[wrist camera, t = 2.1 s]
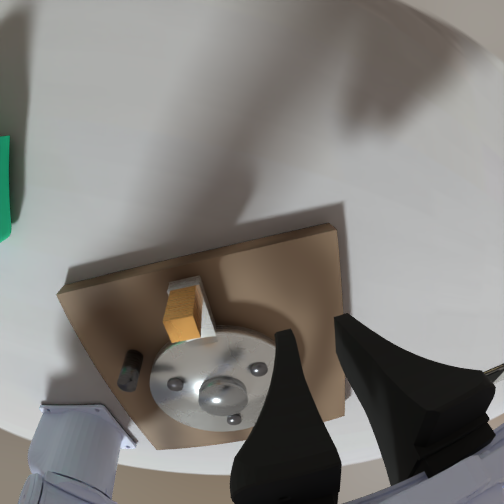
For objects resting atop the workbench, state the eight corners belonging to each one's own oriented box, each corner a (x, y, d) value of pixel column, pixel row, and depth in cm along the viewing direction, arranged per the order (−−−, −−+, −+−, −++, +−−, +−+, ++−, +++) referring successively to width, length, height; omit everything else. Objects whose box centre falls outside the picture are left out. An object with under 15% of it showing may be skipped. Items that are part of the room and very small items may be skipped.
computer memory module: (525, 356, 32) (515, 374, 34) (522, 353, 33) (512, 371, 35) (473, 379, 31) (462, 399, 32) (470, 375, 32) (459, 394, 33)
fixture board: (157, 439, 28) (156, 449, 27) (64, 285, 20) (56, 294, 19) (340, 405, 28) (344, 415, 27) (328, 223, 21) (336, 229, 19)
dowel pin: (130, 363, 22) (122, 392, 19) (123, 350, 21) (113, 379, 18) (146, 361, 22) (139, 391, 19) (139, 348, 21) (131, 377, 18)
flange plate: (297, 403, 25) (309, 445, 21) (180, 424, 25) (178, 466, 20) (270, 256, 19) (286, 294, 15) (109, 292, 19) (86, 335, 15)
